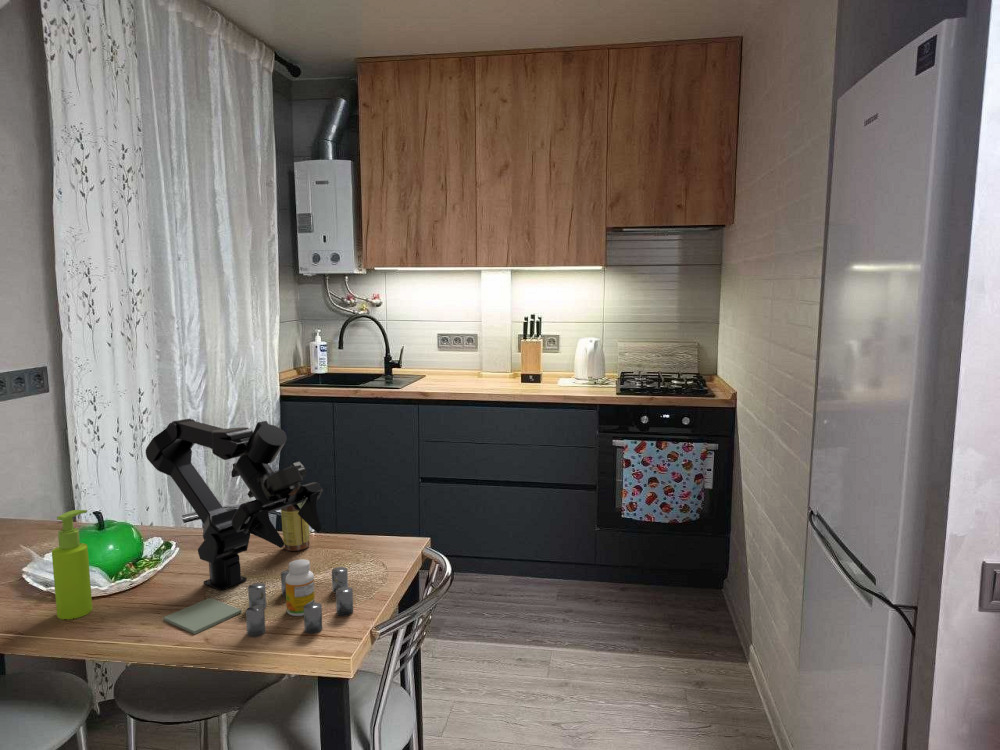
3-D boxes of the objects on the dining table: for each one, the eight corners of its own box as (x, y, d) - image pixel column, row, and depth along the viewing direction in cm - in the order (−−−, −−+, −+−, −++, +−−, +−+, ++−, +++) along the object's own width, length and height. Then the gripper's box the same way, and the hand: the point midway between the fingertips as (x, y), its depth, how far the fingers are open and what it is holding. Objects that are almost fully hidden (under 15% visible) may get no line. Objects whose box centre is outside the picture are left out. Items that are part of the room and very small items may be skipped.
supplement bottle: (285, 606, 135) (283, 560, 134) (313, 602, 137) (312, 556, 136) (287, 618, 130) (285, 570, 129) (316, 614, 132) (314, 566, 131)
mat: (163, 620, 130) (163, 617, 129) (210, 600, 138) (210, 597, 138) (194, 634, 124) (194, 631, 124) (241, 612, 132) (241, 609, 132)
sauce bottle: (302, 541, 171) (299, 464, 168) (314, 547, 166) (311, 468, 164) (278, 547, 166) (274, 468, 164) (289, 554, 162) (286, 473, 159)
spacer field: (216, 622, 129) (215, 600, 128) (314, 577, 149) (313, 558, 148) (284, 651, 118) (283, 626, 118) (379, 598, 138) (378, 577, 138)
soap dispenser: (103, 604, 136) (96, 508, 134) (75, 620, 129) (67, 519, 127) (78, 602, 137) (70, 506, 135) (49, 618, 131) (40, 517, 128)
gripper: (235, 462, 125) (279, 527, 120) (313, 443, 140) (355, 500, 135) (213, 500, 130) (255, 564, 125) (290, 477, 145) (331, 534, 140)
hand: (302, 538), depth 131 cm, fingers open, 9 cm apart
